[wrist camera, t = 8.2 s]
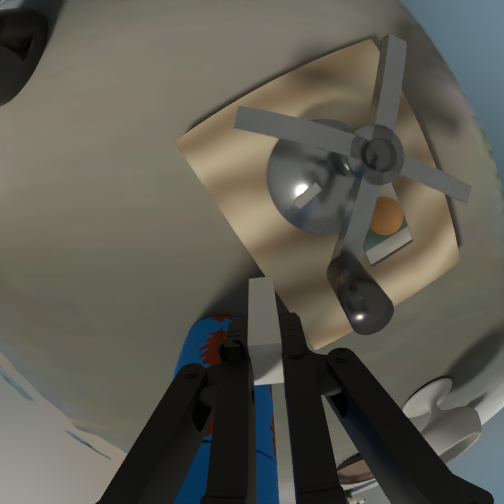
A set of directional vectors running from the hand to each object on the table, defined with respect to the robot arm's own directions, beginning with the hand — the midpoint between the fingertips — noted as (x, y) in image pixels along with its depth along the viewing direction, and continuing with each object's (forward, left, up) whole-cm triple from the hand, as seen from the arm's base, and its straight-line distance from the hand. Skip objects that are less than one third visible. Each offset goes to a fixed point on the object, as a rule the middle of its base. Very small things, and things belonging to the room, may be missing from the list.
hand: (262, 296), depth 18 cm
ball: (+3, +12, -9) cm, 15 cm away
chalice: (+46, +12, -12) cm, 49 cm away
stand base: (+1, +10, -12) cm, 15 cm away
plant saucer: (+67, -7, -12) cm, 69 cm away
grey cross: (-4, +12, -9) cm, 15 cm away
